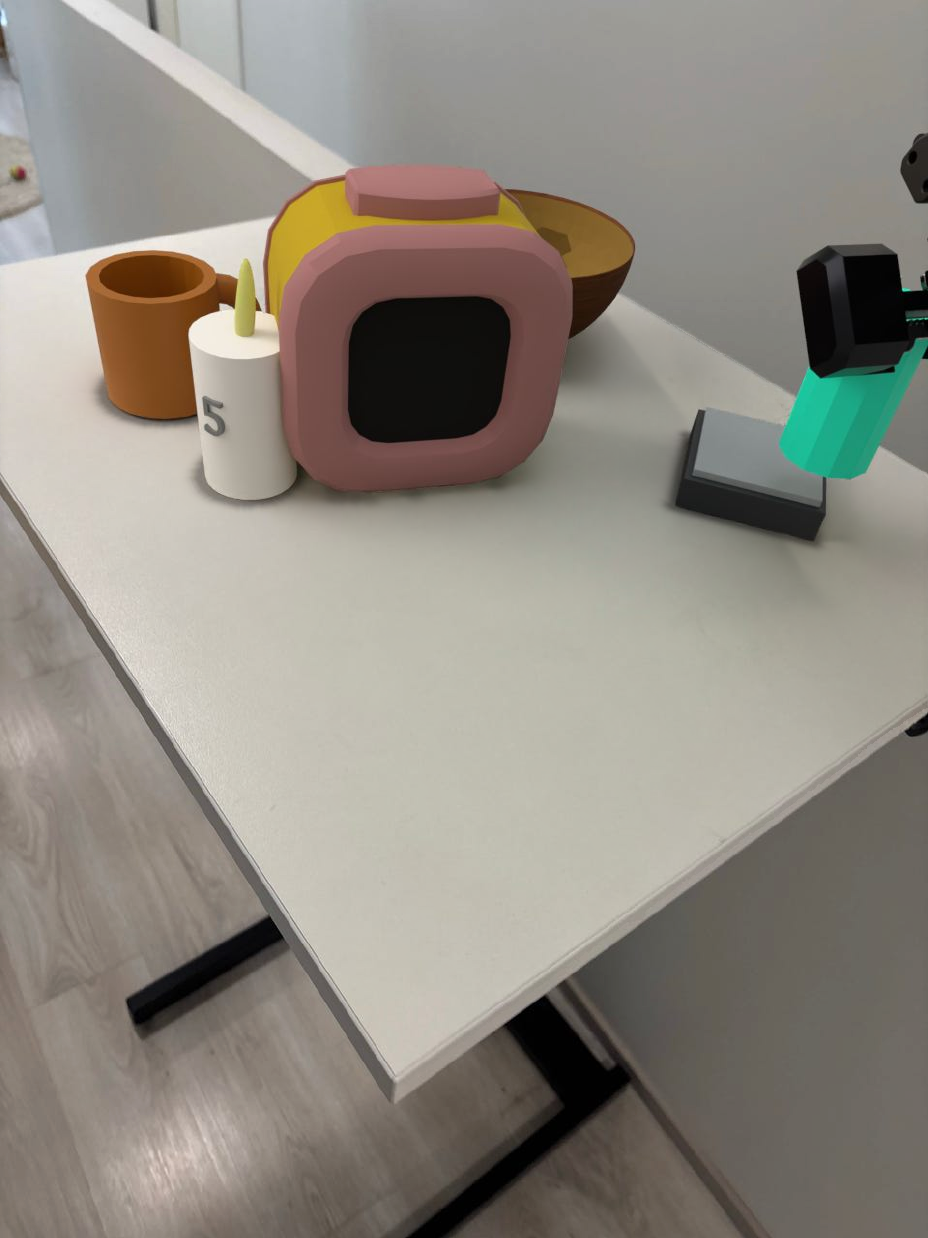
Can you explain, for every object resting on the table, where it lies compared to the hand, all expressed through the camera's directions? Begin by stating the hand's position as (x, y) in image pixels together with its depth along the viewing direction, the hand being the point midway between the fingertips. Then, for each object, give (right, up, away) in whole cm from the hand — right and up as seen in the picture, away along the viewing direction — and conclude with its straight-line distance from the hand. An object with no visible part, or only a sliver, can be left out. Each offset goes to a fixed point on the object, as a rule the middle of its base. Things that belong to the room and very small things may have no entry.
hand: (852, 351), depth 57 cm
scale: (-3, -7, +12) cm, 14 cm away
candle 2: (0, -6, +4) cm, 7 cm away
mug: (-45, +1, +14) cm, 47 cm away
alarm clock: (-29, -5, +11) cm, 31 cm away
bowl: (-20, +8, +24) cm, 32 cm away
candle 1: (-39, -7, +7) cm, 40 cm away
